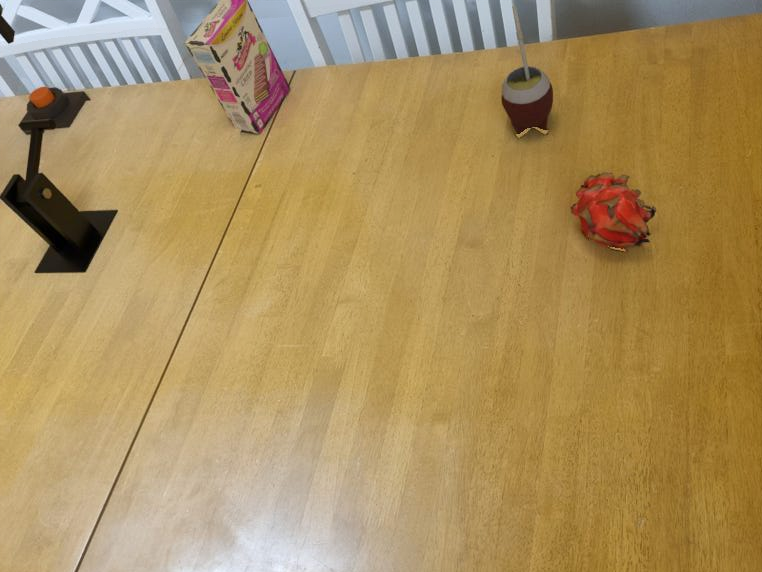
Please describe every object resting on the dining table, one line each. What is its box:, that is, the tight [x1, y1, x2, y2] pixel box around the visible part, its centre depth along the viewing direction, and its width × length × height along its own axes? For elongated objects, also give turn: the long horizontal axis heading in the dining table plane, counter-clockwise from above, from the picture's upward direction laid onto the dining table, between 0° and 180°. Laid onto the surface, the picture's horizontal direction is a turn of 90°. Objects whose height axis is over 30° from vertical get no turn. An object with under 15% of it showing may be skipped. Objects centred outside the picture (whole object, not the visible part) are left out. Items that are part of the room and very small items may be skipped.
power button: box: [28, 86, 55, 108], centre depth 128 cm, size 4×4×2 cm
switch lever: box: [16, 119, 56, 207], centre depth 103 cm, size 12×5×2 cm, turn 171°
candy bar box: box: [184, 0, 291, 135], centre depth 113 cm, size 11×5×16 cm, turn 160°
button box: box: [17, 86, 92, 136], centre depth 130 cm, size 10×8×4 cm
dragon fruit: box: [570, 172, 657, 249], centre depth 88 cm, size 8×8×12 cm
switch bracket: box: [0, 172, 119, 274], centre depth 106 cm, size 12×9×13 cm
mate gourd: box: [501, 5, 554, 134], centre depth 99 cm, size 8×8×15 cm
